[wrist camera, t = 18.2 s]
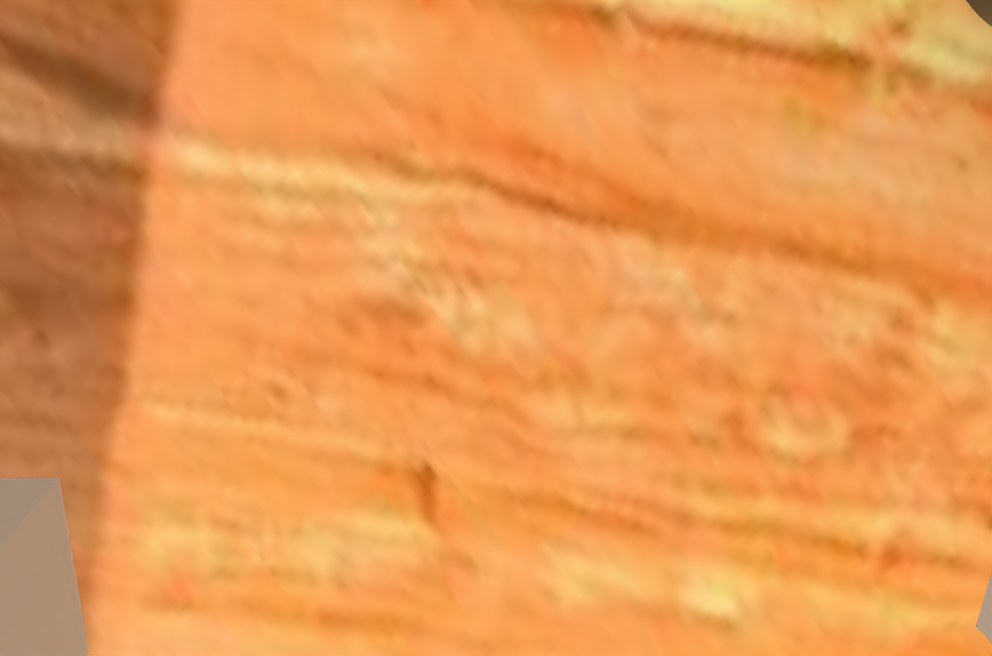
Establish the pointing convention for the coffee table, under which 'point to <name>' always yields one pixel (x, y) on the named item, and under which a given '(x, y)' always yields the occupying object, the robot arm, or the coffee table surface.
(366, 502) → the coffee table surface
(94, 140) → the coffee table surface
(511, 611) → the coffee table surface
